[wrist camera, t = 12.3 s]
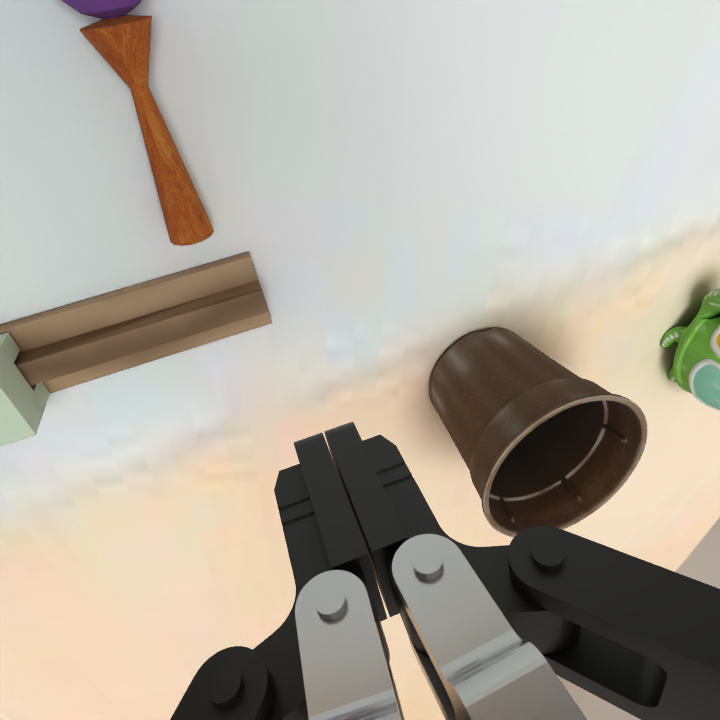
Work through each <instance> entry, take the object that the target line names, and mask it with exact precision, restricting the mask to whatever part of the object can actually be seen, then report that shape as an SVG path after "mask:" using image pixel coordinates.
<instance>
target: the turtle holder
mask: <svg viewBox="0 0 720 720" xmlns="http://www.w3.org/2000/svg"><path fill="white" fill-rule="evenodd" d="M673 343H678V346H677V349H676V352H675V356H674V361H673V366H672V367H671V368H670V370H669V373H668V376H669V380H670V381H672V382H676V381H677V383H678V384H679V386H680V387H681V388H682V389H684V390H685V391H687V392H690V393H691V394H693V395H694V397H695V398H697V399H698V400H699V401H700V402H702V403H703V404H705V405H707V406H709V407H711V408H714V409H716V410H719V411H720V289H716V290H713V291H711V292H709V293H708V294H706V295H705V297H704V298H703V301H702V305H701V308H700V310H699V312H698V314H697V315H696V317H695V318H694V319H693V321H692V322H691V323H690V325H689V326H688V327H683V326H679V327H673V328H671V329H670V330H669V331H668V332H667V333H666V334H665V335H664V336H663V338H662V341H661V346H662V347H664V348H666V347H669V346H671V345H672V344H673Z"/></svg>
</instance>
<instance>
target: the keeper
mask: <svg viewBox="0 0 720 720" xmlns="http://www.w3.org/2000/svg"><path fill="white" fill-rule="evenodd" d="M19 351H20V349H19V347H18V346H17V344H16V343H15V341H14V340H13V338H12V337H11V335H10V334H9V333H5V334H1V335H0V446H3V445H6V444H9V443H13V442H16V441H19V440H22V439H25V438H28V437H31V436H34V435H36V433H37V430H38V427H39V424H40V421H41V418H42V415H43V412H44V409H45V406H46V403H47V400H48V397H49V394H50V393H49V391H48V390H47V388H46V387H45V385H44V384H43V382H42V383H39V384H36V385H32V386H30V385H29V384H28V382H27V381H26V379H25V378H24V377H23V375H22V374H21V372H20V371H19V369H18V368H17V367H16V365H15V364H14V361H15V359H16V357H17V355H18V353H19Z"/></svg>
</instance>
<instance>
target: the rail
mask: <svg viewBox="0 0 720 720" xmlns="http://www.w3.org/2000/svg"><path fill="white" fill-rule="evenodd" d="M271 323H272V321H271V318H270V314H269V311H268V308H267V305H266V302H265V299H264V296H263V293H262V290H261V287H260V284H259V281H258V278H257V275H256V272H255V269H254V266H253V263H252V260H251V257H250V254H249V252H245V253H242V254H238V255H235V256H232V257H228V258H225V259H221V260H218V261H215V262H211V263H208V264H204V265H201V266H198V267H194V268H191V269H187V270H184V271H181V272H177V273H174V274H170V275H167V276H164V277H160V278H157V279H153V280H150V281H147V282H143V283H140V284H136V285H133V286H130V287H126V288H123V289H120V290H116V291H113V292H109V293H106V294H103V295H99V296H96V297H92V298H89V299H86V300H82V301H79V302H75V303H72V304H69V305H65V306H62V307H58V308H55V309H52V310H48V311H45V312H41V313H38V314H35V315H31V316H28V317H24V318H21V319H18V320H14V321H11V322H7V323H4V324H1V325H0V335H1V334H5V333H9V334H10V335H11V337H12V338H13V340H14V341H15V343H16V344H17V346H18V347H19V349H20V351H19V353H18V355H17V357H16V359H15V361H14V364H15V365H16V367H17V368H18V369H19V371H20V372H21V374H22V375H23V377H24V378H25V379H26V381H27V382H28V384H29V385H30V386H32V385H36V384H39V383H42V382H43V384H44V385H45V387H46V388H47V390H48V391H49V393H53V392H56V391H59V390H62V389H65V388H68V387H72V386H75V385H78V384H81V383H84V382H87V381H91V380H94V379H97V378H100V377H103V376H106V375H109V374H113V373H116V372H119V371H122V370H125V369H128V368H132V367H135V366H138V365H141V364H144V363H147V362H151V361H154V360H157V359H160V358H163V357H166V356H169V355H173V354H176V353H179V352H182V351H185V350H188V349H192V348H195V347H198V346H201V345H204V344H207V343H211V342H214V341H217V340H220V339H223V338H226V337H229V336H233V335H236V334H239V333H242V332H245V331H248V330H252V329H255V328H258V327H261V326H264V325H267V324H271Z"/></svg>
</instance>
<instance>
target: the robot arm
mask: <svg viewBox="0 0 720 720" xmlns="http://www.w3.org/2000/svg"><path fill="white" fill-rule="evenodd" d="M325 436H326V439H327V442H328V446H329V449H330V452H331V454H330V452H329V449H328V446H327V444H326V441H325V438H324V436H323V433H319V434H317V435H314V436H311V437H308V438H305V439H302V440H300V441H297V442H294V446H295V449H296V452H297V456H298V459H299V462H300V464H298V465H295V466H292V467H289V468H286V469H284V470H281V471H279V474H278V478H277V482H276V485H275V489H274V491H275V496H276V500H277V504H278V509H279V513H280V518H281V522H282V525H283V531H284V535H285V540H286V544H287V548H288V553H289V557H290V561H291V566H292V570H293V575H294V579H295V584H296V597H295V602H294V605H293V608H292V610H291V612H290V614H289V616H288V617H287V619H286V620H285V622H284V623H283V624H282V625H281V626H280V627H279V628H278V629H277V630H276V631H275V632H274V633H273V634H272V635H270V636H269V637H268V638H267V639H265V640H264V641H263V642H262V643H260V644H259V645H258V646H257V647H255V648H254V649H253V650H252V649H250V648H247V647H242V646H235V647H229V648H226V649H223V650H221V651H219V652H217V653H216V654H214V655H213V656H212V657H210V658H209V659H208V660H207V661H206V662H205V663H204V664H203V665H202V666H201V667H200V669H199V670H198V672H197V673H196V675H195V676H194V678H193V680H192V682H191V683H190V685H189V687H188V689H187V691H186V692H185V694H184V696H183V698H182V700H181V701H180V703H179V705H178V707H177V709H176V710H175V712H174V714H173V716H172V718H171V719H170V720H405V718H404V715H403V711H402V707H401V704H400V700H399V696H398V692H397V689H396V685H395V681H394V678H393V674H392V670H391V666H390V663H389V660H390V655H389V649H388V645H387V642H386V639H385V636H384V632H383V629H382V626H381V623H380V621H383V620H385V619H387V616H386V613H385V609H384V606H383V602H382V599H381V595H380V592H379V589H380V591H381V594H382V597H383V599H384V602H385V605H386V607H387V610H388V613H389V615H390V617H392V616H394V615H397V614H399V613H400V615H401V618H402V620H403V623H404V625H405V628H406V630H407V633H408V636H409V639H410V643H411V647H412V650H413V652H414V654H415V656H416V659H417V661H418V663H419V665H420V667H421V669H422V671H423V673H424V675H425V677H426V679H427V681H428V684H429V686H430V688H431V690H432V692H433V694H434V696H435V698H436V700H437V702H438V704H439V707H440V709H441V711H442V713H443V715H444V717H445V719H446V720H587V719H586V717H585V716H584V714H583V713H582V711H581V710H580V708H579V707H578V706H577V704H576V703H575V701H574V700H573V698H572V697H571V695H570V694H569V693H568V691H567V690H566V689H565V687H564V685H563V684H562V682H561V681H560V679H559V678H558V676H560V677H562V678H564V679H566V680H567V681H569V682H571V683H573V684H575V685H577V686H579V687H581V688H583V689H584V690H586V691H589V692H590V693H592V694H594V695H596V696H598V697H600V698H601V699H603V700H605V701H607V702H609V703H611V704H613V705H615V706H617V707H618V708H620V709H623V710H624V711H626V712H628V713H630V714H632V715H634V716H635V717H637V718H639V719H641V720H720V589H718V588H715V587H712V586H710V585H708V584H704V583H702V582H700V581H697V580H694V579H692V578H689V577H686V576H684V575H681V574H678V573H676V572H673V571H670V570H668V569H665V568H662V567H660V566H657V565H654V564H652V563H649V562H647V561H644V560H641V559H639V558H636V557H633V556H631V555H628V554H625V553H623V552H620V551H617V550H615V549H612V548H609V547H607V546H604V545H601V544H599V543H596V542H593V541H591V540H588V539H586V538H583V537H580V536H578V535H575V534H572V533H570V532H567V531H564V530H562V529H559V528H556V527H552V526H541V525H540V526H533V527H529V528H526V529H524V530H522V531H521V532H519V533H518V534H517V535H516V536H515V537H514V538H513V540H512V541H511V543H510V545H506V546H492V547H473V546H468V545H464V544H461V543H459V542H457V541H455V540H453V539H452V538H450V537H449V536H448V535H447V534H446V533H445V532H444V531H443V530H442V529H441V527H440V525H439V524H438V522H437V520H436V518H435V516H434V515H433V513H432V511H431V509H430V507H429V505H428V504H427V502H426V500H425V498H424V496H423V494H422V493H421V491H420V489H419V487H418V485H417V483H416V482H415V480H414V478H413V477H412V474H411V472H410V471H409V469H408V467H407V465H406V464H405V461H404V460H403V458H402V456H401V454H400V452H399V450H398V449H397V447H396V445H394V444H393V443H391V442H390V441H389V440H387V439H386V438H384V437H383V436H381V435H378V436H375V437H372V438H369V439H367V440H364V441H362V440H361V438H360V435H359V433H358V431H357V429H356V427H355V425H354V423H353V422H350V423H347V424H344V425H342V426H339V427H336V428H333V429H330V430H328V431H325ZM331 456H332V457H331ZM376 581H377V582H376ZM377 583H378V585H377ZM378 586H379V589H378ZM557 675H558V676H557Z"/></svg>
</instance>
